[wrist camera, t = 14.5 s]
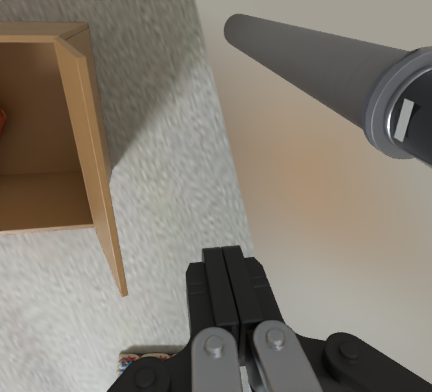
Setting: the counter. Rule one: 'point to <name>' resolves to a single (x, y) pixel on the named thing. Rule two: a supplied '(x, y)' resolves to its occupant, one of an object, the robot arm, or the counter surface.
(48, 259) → the counter surface
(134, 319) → the counter surface
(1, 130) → the onion
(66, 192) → the carton
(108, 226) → the flap
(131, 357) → the woven mat
